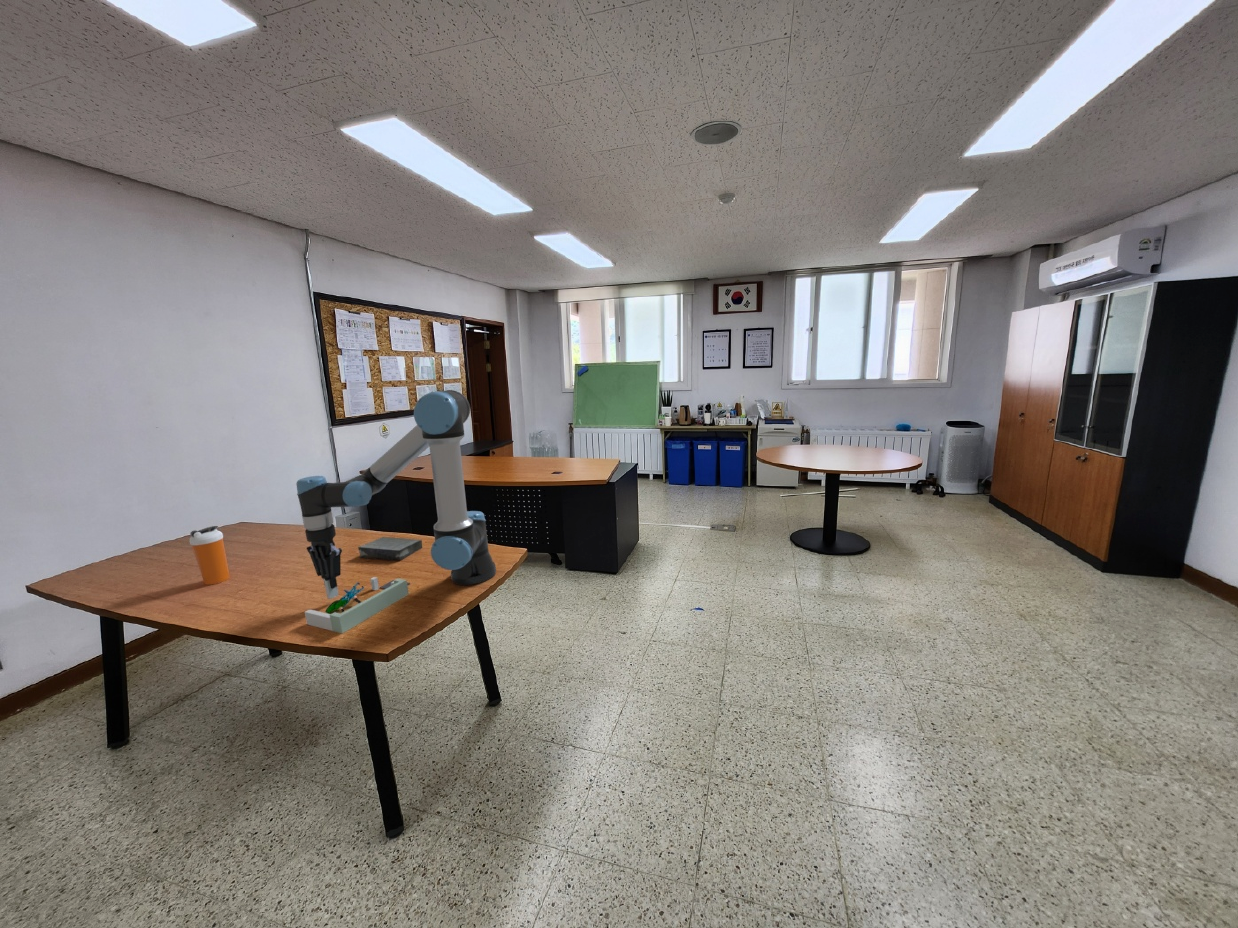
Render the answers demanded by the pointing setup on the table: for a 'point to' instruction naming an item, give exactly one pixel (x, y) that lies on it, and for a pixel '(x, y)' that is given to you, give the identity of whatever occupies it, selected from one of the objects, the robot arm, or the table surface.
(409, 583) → the trap mat
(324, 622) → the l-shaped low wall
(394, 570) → the table surface
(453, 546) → the robot arm
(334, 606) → the stick construction toy
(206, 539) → the shaker bottle
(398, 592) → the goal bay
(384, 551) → the stone block
